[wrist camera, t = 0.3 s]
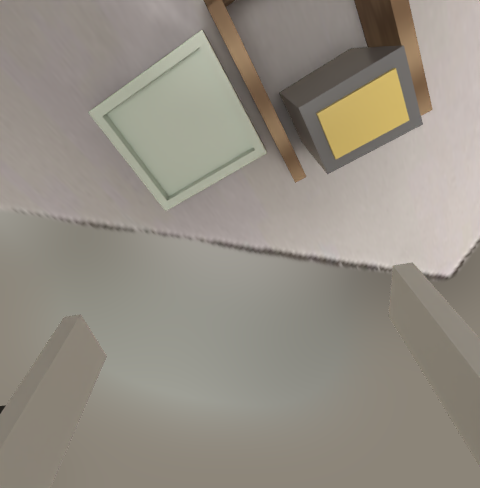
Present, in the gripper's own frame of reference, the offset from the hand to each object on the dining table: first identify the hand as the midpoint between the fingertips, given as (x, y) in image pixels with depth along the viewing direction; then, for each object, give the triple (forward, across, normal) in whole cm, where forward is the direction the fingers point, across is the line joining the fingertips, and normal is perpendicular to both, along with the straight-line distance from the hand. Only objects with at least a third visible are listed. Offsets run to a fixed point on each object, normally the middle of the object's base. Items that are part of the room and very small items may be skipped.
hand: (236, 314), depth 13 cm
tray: (+26, -5, +4) cm, 27 cm away
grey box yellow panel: (+26, +11, +4) cm, 29 cm away
